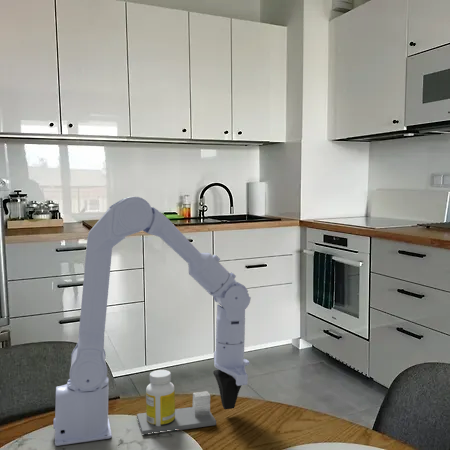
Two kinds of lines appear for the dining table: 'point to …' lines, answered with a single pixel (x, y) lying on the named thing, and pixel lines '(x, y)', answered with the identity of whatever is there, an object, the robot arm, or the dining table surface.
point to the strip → (184, 416)
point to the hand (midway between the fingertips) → (228, 407)
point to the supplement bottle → (160, 399)
